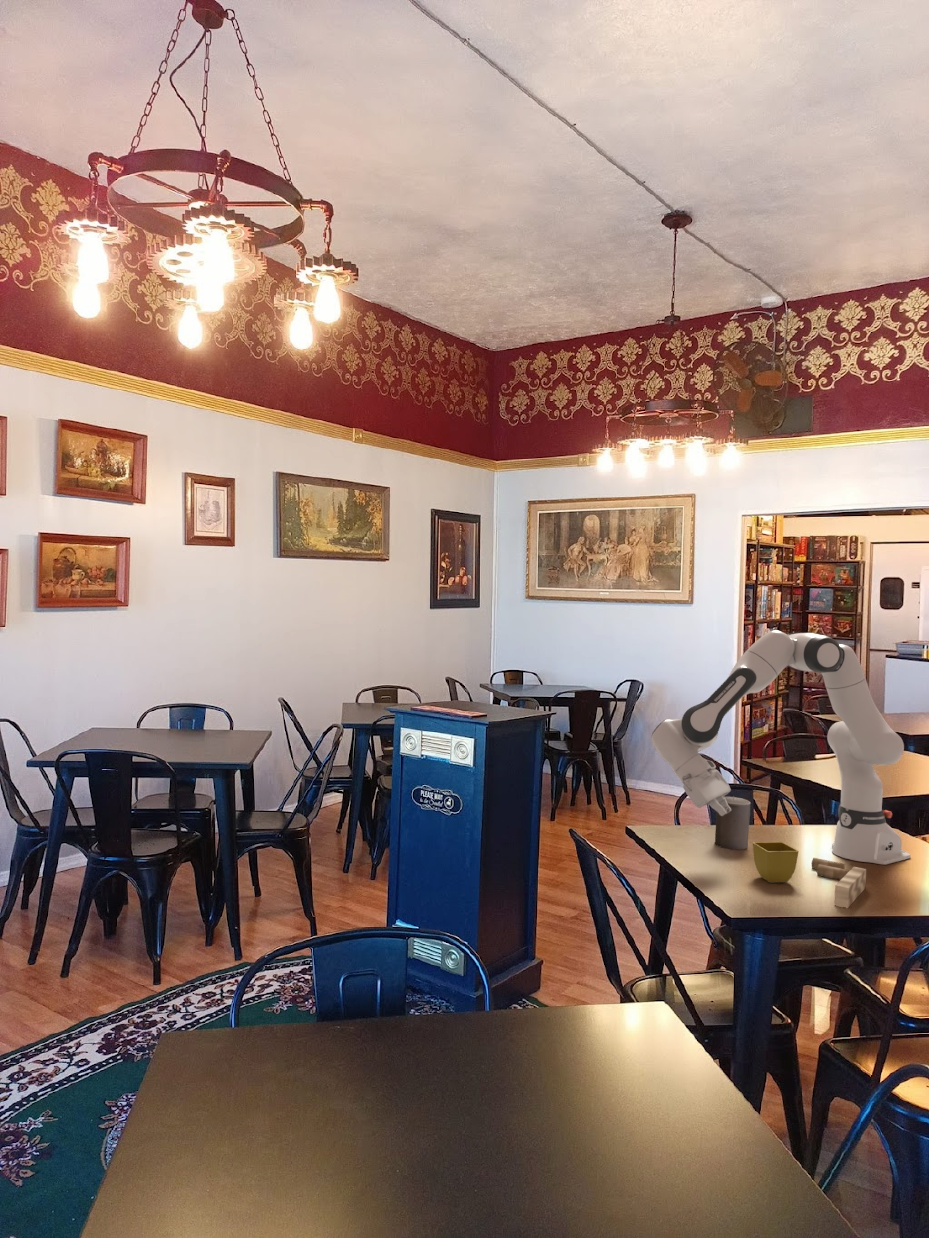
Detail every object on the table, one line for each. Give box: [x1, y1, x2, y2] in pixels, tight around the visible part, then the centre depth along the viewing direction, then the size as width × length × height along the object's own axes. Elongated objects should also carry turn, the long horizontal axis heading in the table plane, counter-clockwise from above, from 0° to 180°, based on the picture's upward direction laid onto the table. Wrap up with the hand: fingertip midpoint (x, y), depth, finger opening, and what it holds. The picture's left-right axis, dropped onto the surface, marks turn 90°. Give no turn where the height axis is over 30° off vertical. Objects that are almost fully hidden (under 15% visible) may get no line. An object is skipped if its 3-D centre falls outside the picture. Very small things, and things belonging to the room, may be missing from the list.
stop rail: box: [834, 866, 867, 909], centre depth 223 cm, size 20×3×5 cm, turn 144°
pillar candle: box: [714, 795, 751, 850], centre depth 266 cm, size 10×10×15 cm
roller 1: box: [811, 857, 846, 870], centre depth 244 cm, size 8×3×3 cm
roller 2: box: [816, 864, 851, 881], centre depth 238 cm, size 8×3×3 cm
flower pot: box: [752, 841, 799, 884], centre depth 234 cm, size 9×9×9 cm
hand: (726, 813), depth 241 cm, fingers closed
